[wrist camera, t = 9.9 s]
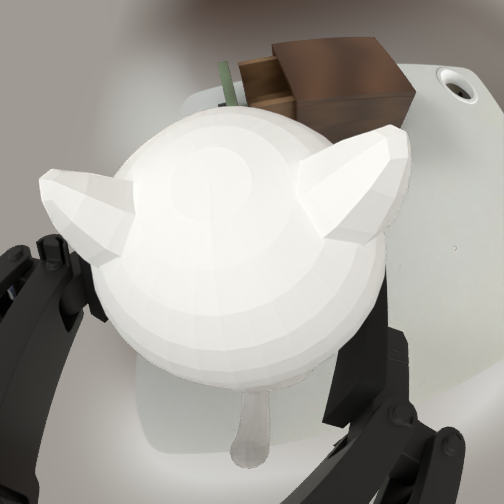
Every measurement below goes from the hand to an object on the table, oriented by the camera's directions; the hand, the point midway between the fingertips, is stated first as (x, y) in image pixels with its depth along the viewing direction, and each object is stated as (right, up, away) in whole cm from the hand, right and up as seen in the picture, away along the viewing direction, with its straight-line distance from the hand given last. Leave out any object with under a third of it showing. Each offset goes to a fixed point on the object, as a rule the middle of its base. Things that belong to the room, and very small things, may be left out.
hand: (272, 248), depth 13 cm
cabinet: (+11, +20, +24) cm, 33 cm away
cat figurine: (0, -5, +5) cm, 7 cm away
